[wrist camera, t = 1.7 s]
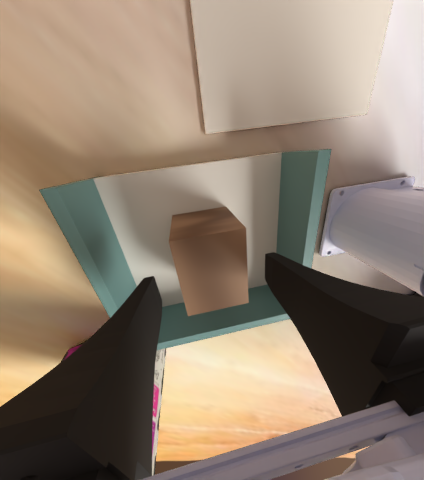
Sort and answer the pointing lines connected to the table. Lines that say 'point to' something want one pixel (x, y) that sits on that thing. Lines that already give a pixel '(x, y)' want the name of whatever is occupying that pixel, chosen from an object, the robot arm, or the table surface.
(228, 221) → the walnut block
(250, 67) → the mat
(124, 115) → the table surface
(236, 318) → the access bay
